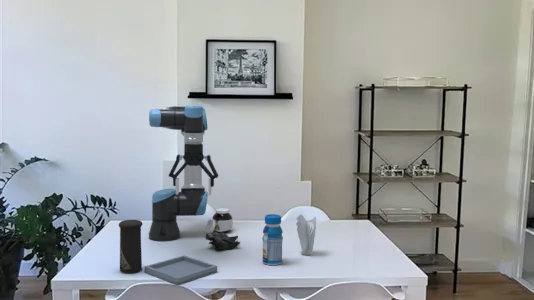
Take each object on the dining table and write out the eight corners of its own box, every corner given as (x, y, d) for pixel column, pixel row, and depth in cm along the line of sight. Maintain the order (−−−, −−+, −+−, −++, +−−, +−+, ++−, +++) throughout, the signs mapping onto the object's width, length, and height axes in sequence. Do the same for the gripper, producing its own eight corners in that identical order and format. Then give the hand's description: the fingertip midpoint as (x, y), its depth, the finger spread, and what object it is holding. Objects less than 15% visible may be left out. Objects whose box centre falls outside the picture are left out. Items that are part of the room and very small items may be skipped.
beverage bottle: (275, 267, 213) (276, 219, 211) (258, 263, 217) (258, 216, 215) (286, 261, 220) (286, 215, 218) (268, 258, 225) (269, 212, 223)
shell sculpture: (317, 252, 234) (318, 213, 233) (313, 257, 227) (314, 216, 225) (300, 250, 237) (300, 211, 235) (294, 255, 229) (295, 215, 228)
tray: (144, 272, 204) (144, 266, 204) (184, 261, 219) (184, 255, 219) (177, 285, 191) (177, 278, 191) (217, 272, 206) (217, 265, 206)
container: (121, 267, 210) (121, 218, 208) (144, 266, 211) (143, 218, 209) (117, 274, 202) (116, 223, 200) (140, 273, 202) (140, 223, 200)
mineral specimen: (221, 243, 227) (218, 222, 232) (201, 253, 234) (198, 232, 238) (244, 248, 238) (241, 228, 243) (224, 257, 245) (221, 237, 249)
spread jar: (234, 231, 268) (234, 209, 267) (221, 236, 259) (221, 213, 258) (216, 228, 275) (216, 206, 274) (202, 232, 265) (202, 210, 264)
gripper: (161, 143, 211) (161, 195, 213) (223, 144, 210) (222, 196, 212) (165, 141, 218) (165, 192, 220) (225, 142, 217) (224, 193, 220)
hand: (193, 194), depth 216 cm, fingers open, 13 cm apart
